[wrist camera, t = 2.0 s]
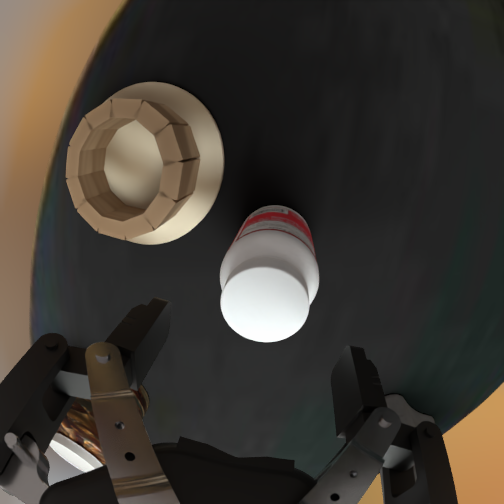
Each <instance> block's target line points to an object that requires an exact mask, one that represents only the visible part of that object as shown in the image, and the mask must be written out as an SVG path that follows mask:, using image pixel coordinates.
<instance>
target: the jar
mask: <svg viewBox="0 0 504 504" xmlns="http://www.w3.org/2000/svg"><path fill="white" fill-rule="evenodd" d="M130 390H131V391H132V392H133V394H134V397H135V400H136V403H137V406H138V409H139V412H140V415H141V418H142V419H143V417H144V415H145V413H146V411H147V409H148V406H149V396H148V394H147V392H146V390H145V389H144V387H143V386H142V385H141V386H140V387H139V389H138V391H136V390H133V389H131V388H130ZM49 445H50V446H51V447H52V449H53V450H54V451H55V452H57V453H58V454H59V455H60V456H61V457H62V458H63V459H65V460H66V461H67V462H69V463H70V464H72V465H74V466H75V467H77V468H78V469H80V470H82V471H83V472H85V473H86V472H88V471H91V470H94V469H96V468H99V467H101V466H104V465H106V461H105V458H104V455H103V451H102V447H101V444H100V440H99V436H98V432H97V428H96V423H95V419H94V414H93V409H92V404H91V400H90V399H84V398H79V397H77V398H76V399H75V401H74V403H73V404H72V406H71V408H70V409H69V411H68V413H67V414H66V416H65V418H64V420H63V421H62V423H61V425H60V427H59V428H58V430H57V432H56V434H55V435H54V437H53V439H52V441H51V443H50V444H49Z"/></svg>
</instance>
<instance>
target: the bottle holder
mask: <svg viewBox="0 0 504 504" xmlns="http://www.w3.org/2000/svg"><path fill="white" fill-rule="evenodd" d="M85 116H86V117H83V119H82V121H81V122H80V124H79V126H78V128H77V130H76V131H75V133H74V135H73V137H72V139H71V141H70V143H69V145H70V146H69V147H68V153H67V165H66V178H69V179H67V180H66V182H67V185H68V188H69V191H70V194H71V197H72V200H73V203H74V206H75V208H78V207H79V208H78V210H77V211H78V213H79V214H80V215H81V216H82V217H83V218H84V219H85V220H86V221H87V222H88V223H89V224H90V225H91V226H92V227H93V228H94V229H95V230H96V231H98V230H99V233H102V234H105V235H108V236H112V237H115V238H119V239H122V240H125V239H126V240H128V241H131V242H135V243H140V244H150V245H151V244H161V243H166V242H169V241H172V240H175V239H177V238H179V237H181V236H183V235H184V234H186V233H187V232H189V231H190V230H191V229H193V228H194V227H195V226H196V225H197V224H198V223H199V222H200V221H201V220H202V219H203V218H204V217H205V216H206V214H207V213H208V212H209V211H210V209H211V207H212V206H213V204H214V202H215V200H216V198H217V196H218V193H219V191H220V188H221V184H222V180H223V174H224V165H225V155H224V147H223V142H222V138H221V134H220V131H219V129H218V126H217V124H216V122H215V120H214V118H213V117H212V115H211V113H210V112H209V111H208V109H207V108H206V107H205V106H204V104H203V103H201V102H200V101H199V100H198V99H197V98H196V97H195V96H193V95H192V94H190V93H189V92H187V91H185V90H183V89H181V88H179V87H176V86H174V85H170V84H167V83H161V82H144V83H138V84H134V85H131V86H128V87H126V88H124V89H122V90H120V91H118V92H117V93H115V94H114V95H112V96H111V97H110V98H108V99H107V100H106V101H105V102H104V103H103V104H102V105H100V106H98V107H97V108H95V109H94V110H92V111H91V112H89V113H88V114H86V115H85Z"/></svg>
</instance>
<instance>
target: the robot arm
mask: <svg viewBox="0 0 504 504" xmlns="http://www.w3.org/2000/svg"><path fill="white" fill-rule="evenodd" d="M170 314H171V302H170V301H167V300H163V299H160V298H157V297H154V298H153V299H152V300H151V302H150V303H149V304H148V306H146V305H143V304H140V305H138V306H136V307H135V308H133V309H131V311H130V312H129V313H128V314H127V315H126V317H125V318H124V319H123V320H122V322H121V323H120V324H119V325H118V326H117V327H116V329H115V330H114V331H113V332H112V333H111V335H110V336H109V337H108V338H107V339H106V341H105V342H97V343H94V344H92V345H90V346H89V347H88V348H87V349H83V348H77V347H71V346H68V344H67V340H66V339H65V338H64V337H63V336H62V335H60V334H57V333H48V334H45V335H43V336H41V337H40V338H39V339H38V340H37V341H36V342H35V343H34V344H33V346H32V347H31V348H30V349H29V350H28V351H27V352H26V354H25V355H24V356H23V357H22V358H21V359H20V361H19V362H18V363H17V364H16V365H15V366H14V368H13V369H12V370H11V371H10V372H9V374H8V375H7V376H6V377H5V379H4V380H3V381H2V382H1V384H0V488H1V489H2V490H3V491H5V492H6V493H8V494H10V495H12V496H15V497H17V498H18V499H19V500H21V501H22V502H24V503H25V504H357V503H358V502H359V501H360V499H361V498H362V496H363V495H364V494H365V492H366V491H367V489H368V488H369V486H370V485H371V483H372V482H373V480H374V479H375V477H376V476H377V474H378V473H379V471H380V469H381V468H382V471H383V483H384V497H385V504H458V501H457V495H456V490H455V485H454V481H453V476H452V472H451V467H450V463H449V459H448V455H447V451H446V448H445V444H444V440H443V437H442V433H441V431H440V429H439V428H438V426H437V425H435V424H434V423H432V422H430V421H422V422H421V423H419V424H418V425H417V426H416V427H413V426H410V425H406V424H403V423H401V421H400V418H399V416H398V415H397V413H396V412H395V411H393V410H391V409H389V408H388V407H387V403H386V399H385V396H384V392H383V389H382V385H381V382H380V378H379V375H378V372H377V368H376V367H375V366H374V364H373V363H372V362H371V360H367V359H366V356H365V352H364V349H363V348H360V347H354V346H346V347H345V349H344V350H343V352H342V354H341V356H340V358H339V360H338V362H337V363H336V365H335V367H334V369H333V371H332V375H331V386H332V395H333V404H334V414H335V424H336V435H337V437H338V438H346V443H345V444H344V445H343V446H342V448H341V449H340V450H339V451H338V452H337V454H336V455H335V456H334V457H333V458H332V460H331V461H330V462H329V463H328V464H327V465H326V466H325V467H324V469H323V470H322V471H321V472H320V473H319V474H318V475H317V476H316V477H315V478H314V479H313V478H312V477H311V476H309V475H308V474H306V473H305V472H303V471H301V470H298V469H296V468H294V460H287V459H279V458H272V457H248V458H238V457H234V456H232V455H230V454H227V453H225V452H223V451H221V450H219V449H217V448H215V447H213V446H210V445H208V444H205V443H201V442H198V441H194V440H191V439H187V438H184V437H181V436H180V438H179V441H178V443H158V444H153V445H151V442H150V440H149V437H148V434H147V432H146V429H145V426H144V424H143V421H142V418H141V415H140V412H139V409H138V406H137V403H136V400H135V397H134V394H133V392H132V391H131V390H130V388H131V389H133V390H136V391H138V389H139V387H140V386H141V384H142V382H143V380H144V378H145V377H146V375H147V373H148V371H149V369H150V368H151V366H152V364H153V362H154V361H155V359H156V357H157V355H158V354H159V352H160V350H161V348H162V347H163V345H164V343H165V341H166V339H167V337H168V333H169V327H170ZM77 397H79V398H84V399H90V400H91V404H92V409H93V414H94V419H95V423H96V428H97V432H98V436H99V440H100V444H101V447H102V451H103V455H104V458H105V461H106V465H104V466H101V467H99V468H96V469H94V470H91V471H88V472H86V473H83V474H80V475H78V476H75V477H72V478H69V479H66V480H63V481H60V482H57V483H55V484H53V485H51V486H49V484H48V473H49V468H50V467H49V462H48V459H47V457H46V456H45V455H44V453H45V452H46V450H47V448H48V446H49V444H50V443H51V441H52V439H53V437H54V435H55V434H56V432H57V430H58V428H59V427H60V425H61V423H62V421H63V420H64V418H65V416H66V414H67V413H68V411H69V409H70V408H71V406H72V404H73V403H74V401H75V399H76V398H77ZM414 465H415V470H416V476H417V479H416V483H415V476H414V470H413V466H414Z"/></svg>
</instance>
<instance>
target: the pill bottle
mask: <svg viewBox="0 0 504 504" xmlns="http://www.w3.org/2000/svg"><path fill="white" fill-rule="evenodd" d="M220 283H221V288H222V295H221V310H222V313H223V316H224V318H225V320H226V321H227V323H228V324H229V326H230V327H231V328H232V329H233V330H234V331H236V332H237V333H238V334H240V335H242V336H244V337H246V338H248V339H251V340H254V341H260V342H274V341H279V340H283V339H285V338H287V337H289V336H291V335H293V334H294V333H296V332H297V331H298V330H299V329H300V328H301V326H302V325H303V324H304V322H305V321H306V318H307V316H308V313H309V305H310V304H311V303H312V301H313V299H314V297H315V295H316V293H317V289H318V285H319V271H318V264H317V260H316V255H315V250H314V245H313V241H312V236H311V232H310V229H309V227H308V225H307V223H306V221H305V220H304V219H303V217H302V216H301V215H300V214H298V213H297V212H296V211H294V210H292V209H290V208H288V207H284V206H279V205H270V206H266V207H262V208H260V209H258V210H256V211H254V212H253V213H252V214H251V215H250V216H249V217H248V218H247V219H246V220H245V221H244V223H243V225H242V226H241V228H240V230H239V232H238V234H237V235H236V237H235V239H234V241H233V242H232V244H231V246H230V248H229V249H228V251H227V253H226V255H225V257H224V260H223V262H222V265H221V270H220Z"/></svg>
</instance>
